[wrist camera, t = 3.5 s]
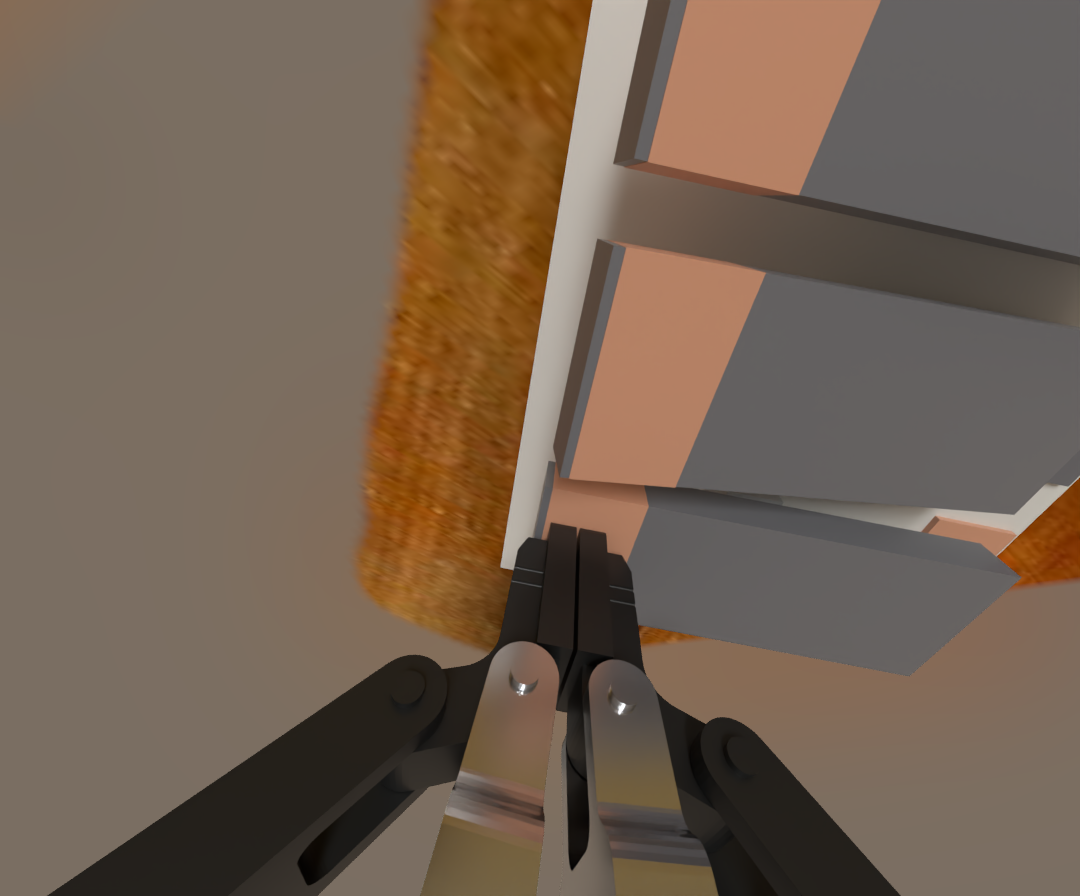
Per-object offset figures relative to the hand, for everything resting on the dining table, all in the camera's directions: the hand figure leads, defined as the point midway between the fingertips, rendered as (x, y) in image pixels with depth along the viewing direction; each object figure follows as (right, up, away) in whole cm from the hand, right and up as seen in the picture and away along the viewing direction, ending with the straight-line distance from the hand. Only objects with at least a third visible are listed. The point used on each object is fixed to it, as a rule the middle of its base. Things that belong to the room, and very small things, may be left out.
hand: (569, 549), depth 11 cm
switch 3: (+5, -1, 0) cm, 5 cm away
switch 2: (+6, +4, -2) cm, 7 cm away
